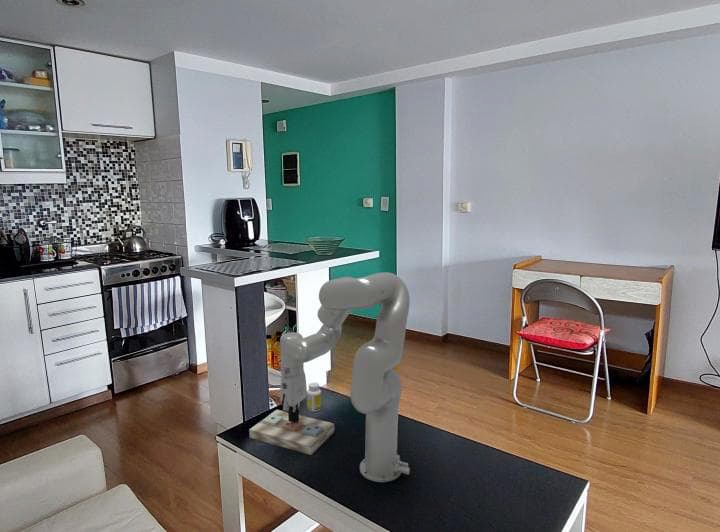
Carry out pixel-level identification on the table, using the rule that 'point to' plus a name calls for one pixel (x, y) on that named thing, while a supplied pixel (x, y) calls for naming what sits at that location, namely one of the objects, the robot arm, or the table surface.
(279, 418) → the key one dot
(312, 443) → the key panel
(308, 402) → the supplement bottle
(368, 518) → the table surface
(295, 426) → the key three dots
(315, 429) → the key two dots
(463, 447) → the table surface
